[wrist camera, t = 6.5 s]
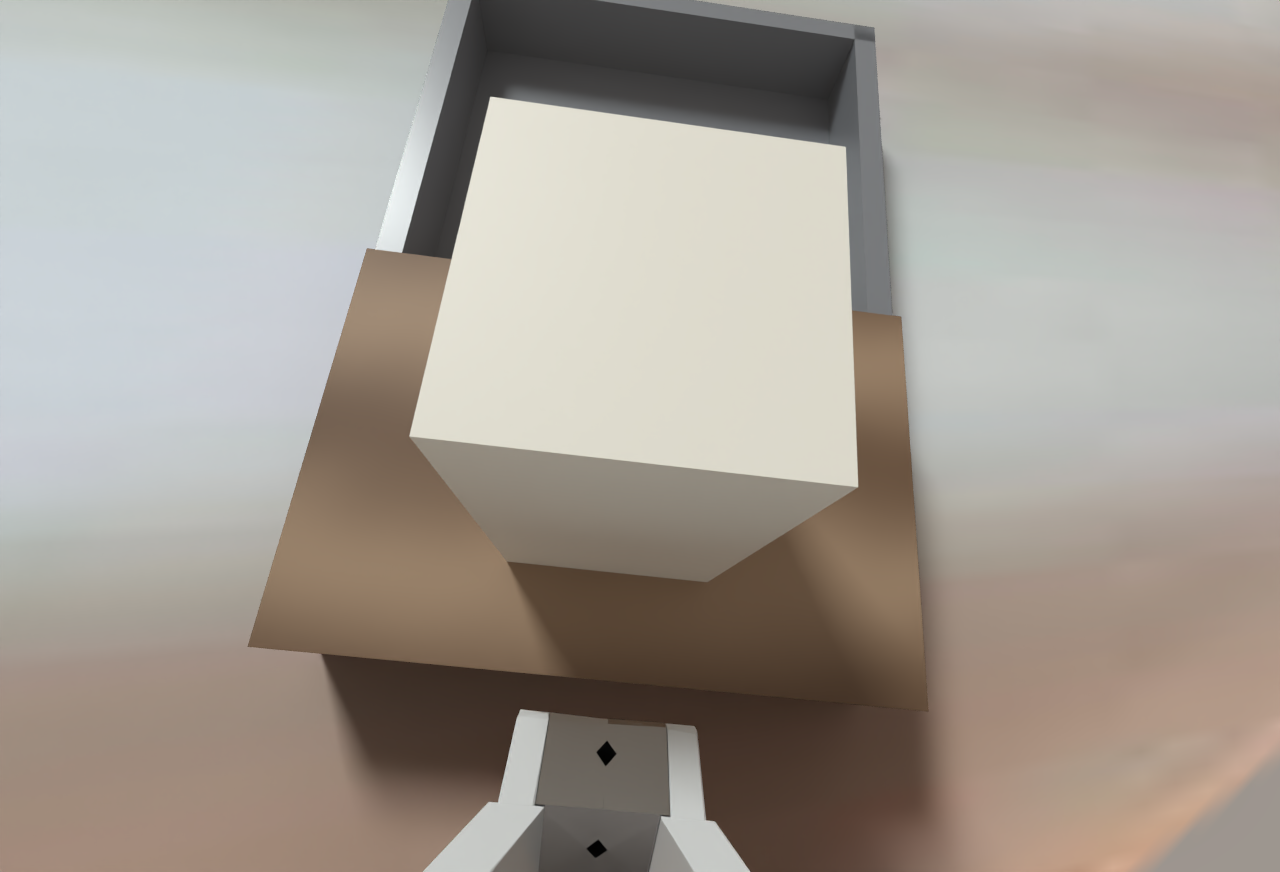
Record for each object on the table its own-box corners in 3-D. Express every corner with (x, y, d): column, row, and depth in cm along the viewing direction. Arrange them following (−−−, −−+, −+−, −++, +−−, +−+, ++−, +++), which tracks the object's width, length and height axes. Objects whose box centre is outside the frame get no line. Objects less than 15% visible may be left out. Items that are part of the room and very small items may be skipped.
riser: (858, 701, 18) (928, 711, 15) (319, 649, 18) (247, 646, 14) (847, 374, 22) (901, 316, 19) (404, 319, 21) (366, 248, 18)
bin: (847, 367, 22) (892, 317, 19) (406, 313, 22) (374, 251, 18) (838, 104, 27) (874, 27, 24) (474, 51, 26) (458, -36, 23)
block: (707, 582, 15) (857, 486, 7) (506, 561, 15) (408, 436, 7) (716, 400, 17) (845, 146, 9) (537, 378, 17) (489, 96, 8)
